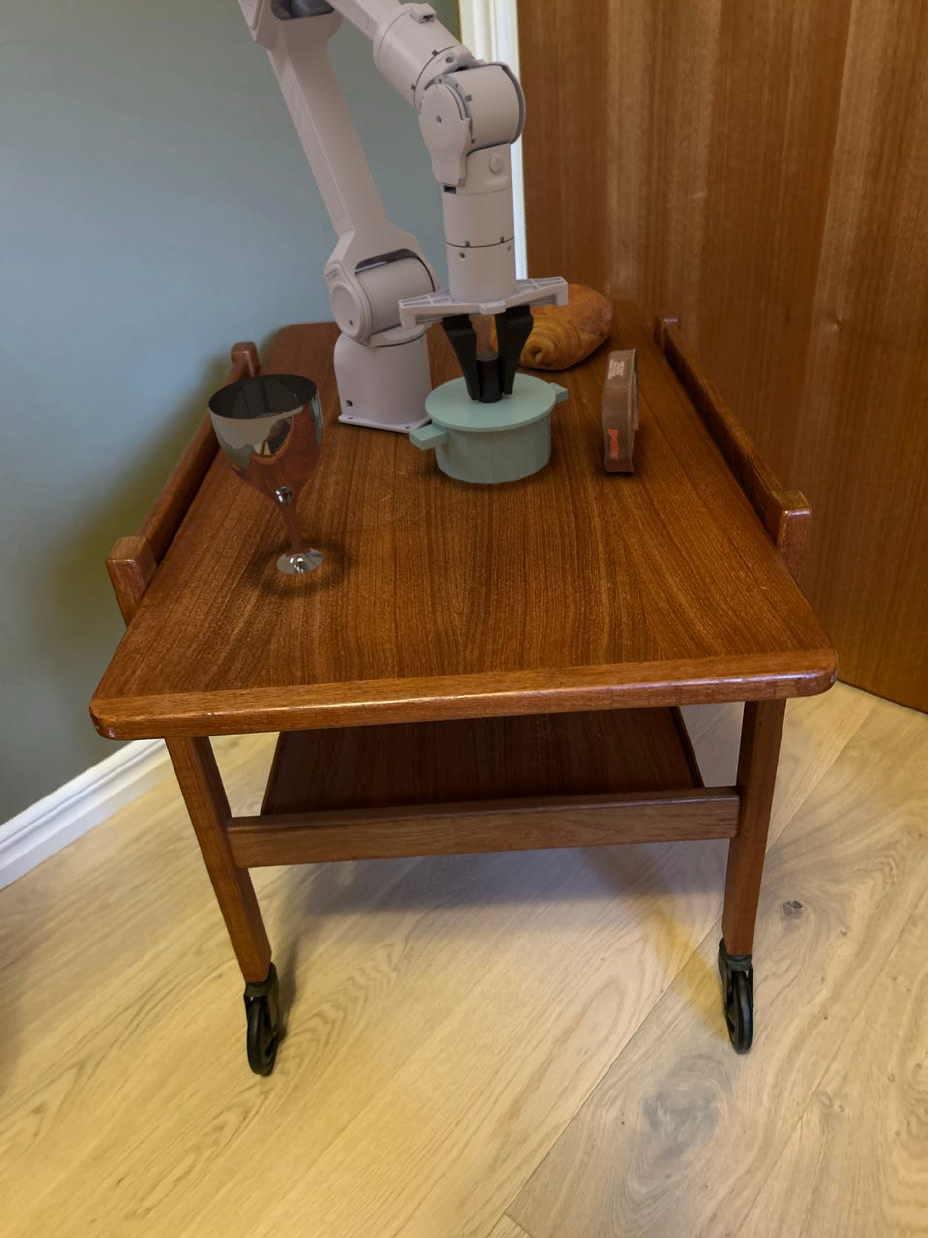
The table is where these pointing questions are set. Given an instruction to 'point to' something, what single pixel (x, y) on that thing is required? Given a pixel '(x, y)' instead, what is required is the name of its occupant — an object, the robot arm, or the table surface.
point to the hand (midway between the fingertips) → (489, 393)
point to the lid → (490, 400)
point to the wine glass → (273, 446)
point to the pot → (490, 449)
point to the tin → (620, 409)
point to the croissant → (565, 330)
